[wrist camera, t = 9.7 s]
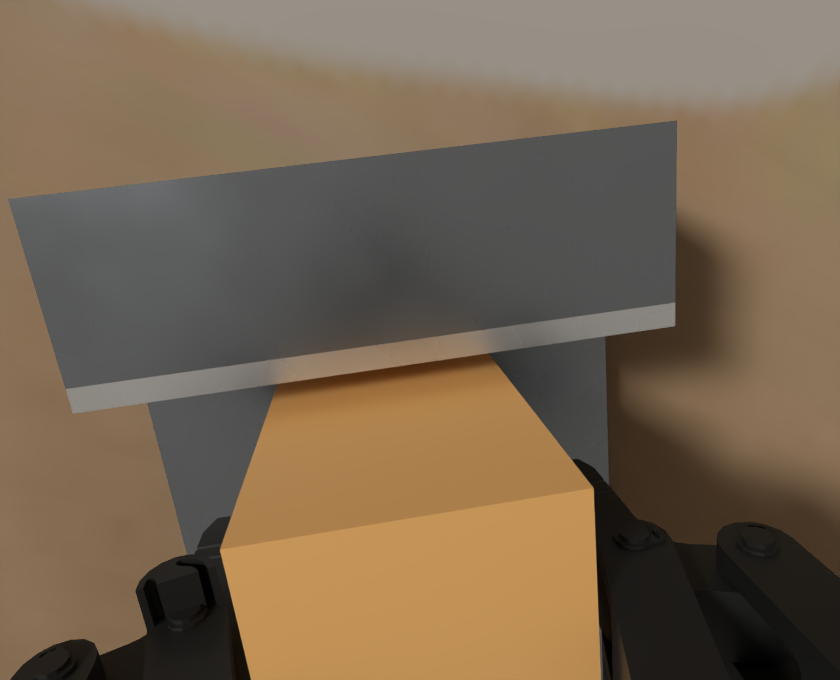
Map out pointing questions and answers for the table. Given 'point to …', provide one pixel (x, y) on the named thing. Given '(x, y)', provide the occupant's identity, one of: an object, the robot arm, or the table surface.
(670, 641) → the robot arm
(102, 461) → the table surface
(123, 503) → the table surface
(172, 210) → the vise base
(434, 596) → the light orange block
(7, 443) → the table surface
